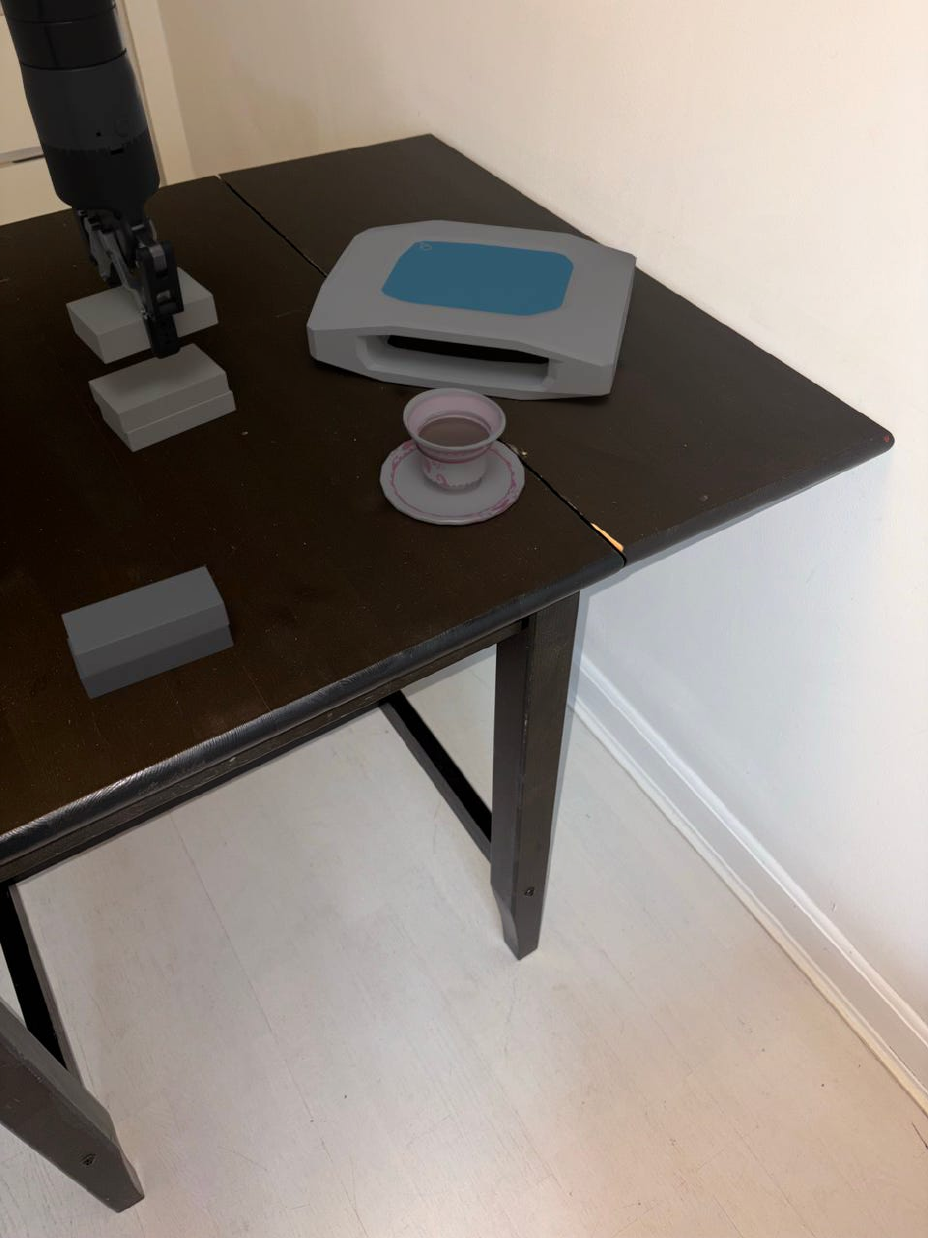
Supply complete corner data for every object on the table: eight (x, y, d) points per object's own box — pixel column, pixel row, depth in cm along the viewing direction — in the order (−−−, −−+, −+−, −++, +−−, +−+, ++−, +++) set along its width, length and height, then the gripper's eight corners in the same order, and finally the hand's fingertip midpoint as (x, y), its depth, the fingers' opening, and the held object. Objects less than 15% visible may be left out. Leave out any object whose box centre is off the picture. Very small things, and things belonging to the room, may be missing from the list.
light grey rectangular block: (105, 364, 75) (96, 334, 73) (75, 332, 78) (65, 303, 76) (218, 323, 79) (212, 294, 77) (185, 294, 82) (178, 266, 81)
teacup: (554, 481, 79) (560, 419, 74) (448, 549, 73) (447, 486, 69) (456, 419, 85) (455, 358, 80) (350, 477, 79) (343, 415, 75)
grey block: (130, 453, 81) (118, 414, 78) (101, 420, 85) (88, 381, 82) (236, 410, 86) (228, 371, 83) (204, 380, 89) (195, 342, 86)
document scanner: (606, 412, 85) (614, 351, 81) (310, 373, 90) (301, 312, 85) (631, 297, 99) (639, 238, 95) (374, 267, 104) (369, 210, 99)
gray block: (90, 699, 63) (70, 657, 60) (76, 659, 66) (56, 616, 62) (235, 645, 66) (223, 602, 63) (217, 609, 69) (205, 565, 66)
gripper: (2, 106, 69) (72, 316, 82) (82, 170, 62) (146, 392, 74) (99, 83, 72) (152, 289, 85) (187, 142, 65) (231, 359, 77)
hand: (149, 336), depth 79 cm, fingers closed on light grey rectangular block, 6 cm apart
